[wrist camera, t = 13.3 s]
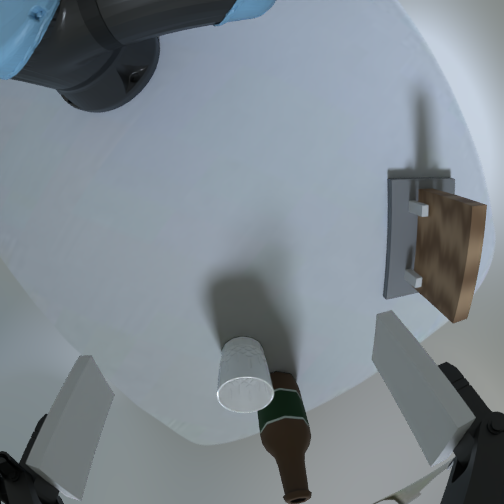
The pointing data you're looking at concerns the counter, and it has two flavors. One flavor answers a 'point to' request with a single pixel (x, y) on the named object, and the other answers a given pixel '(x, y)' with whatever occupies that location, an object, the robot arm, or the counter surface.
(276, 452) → the beer bottle
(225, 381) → the white cup
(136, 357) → the counter surface
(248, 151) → the counter surface
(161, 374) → the counter surface
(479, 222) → the brown wooden board
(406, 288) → the board
